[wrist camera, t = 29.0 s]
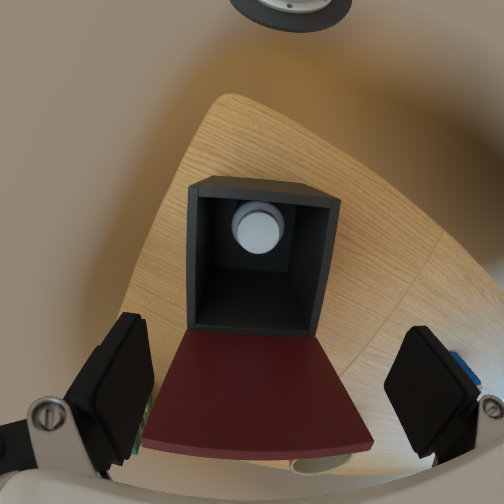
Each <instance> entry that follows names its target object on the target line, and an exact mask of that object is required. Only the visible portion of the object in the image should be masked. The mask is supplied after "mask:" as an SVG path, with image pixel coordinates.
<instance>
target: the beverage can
mask: <svg viewBox="0 0 504 504" xmlns="http://www.w3.org/2000/svg"><path fill="white" fill-rule="evenodd" d="M450 354H451V355H452V356H453V357H454V358H455V360H456V361H457V362H458V363H459V365H460V366H461V367H462V368H463V369H464V371H465V372H466V373H467V374H468V376H469V377H470V378H471V380H472V381H473V382H474V383H475V385H476V386H477V387H478V389H479V390H480V391H481V390H482V385H481V381H480V380H479V378H478V377H477V376H476V375H475V374H474V372H473V371H472V370H471V369H470V368H469V367H468V365H467V364H466V363H465V362H464V361H463V360H462V358H461V357H460V356H459V355H458V354H457V353H456V352H451V353H450Z"/></svg>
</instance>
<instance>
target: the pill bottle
mask: <svg viewBox="0 0 504 504" xmlns="http://www.w3.org/2000/svg"><path fill="white" fill-rule="evenodd" d="M232 232H233V235H234V238H235V239H236V241H237V242H238V243H239V244H240V245H241V246H242V247H243V248H244V249H246V250H247V251H249V252H251V253H255V254H262V253H266V252H268V251H270V250H271V249H273V248H274V247H275V245H276V244H277V243H278V242H279V241H280V239H281V237H282V235H283V232H284V220H283V217H282V214H281V212H280V210H279V209H278V207H277V205H276V204H275V202H264V201H252V200H240V201H239V202H238V204H237V206H236V208H235V211H234V215H233V219H232Z"/></svg>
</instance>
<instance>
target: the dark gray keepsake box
mask: <svg viewBox="0 0 504 504" xmlns="http://www.w3.org/2000/svg"><path fill="white" fill-rule="evenodd" d="M240 200H252V201H264V202H275V204H276V205H277V207H278V209H279V210H280V212H281V214H282V217H283V220H284V232H283V235H282V237H281V239H280V241H279V242H278V243H277V244H276V245H275V247H274V248H273V249H271V250H270V251H268V252H266V253H262V254H255V253H251V252H249V251H247V250H246V249H244V248H243V247H242V246H241V245H240V244H239V243H238V242H237V241H236V239H235V238H234V235H233V232H232V219H233V215H234V211H235V208H236V206H237V204H238V202H239V201H240ZM340 203H341V200H340V199H338V198H336V197H334V196H331V195H329V194H327V193H324V192H322V191H320V190H317V189H315V188H312V187H310V186H308V185H305V184H302V183H293V182H284V181H274V180H264V179H252V178H240V177H226V176H211V177H208V178H206V179H204V180H201V181H199V182H197V183H194V184H192V185H190V186H189V188H188V210H187V246H186V300H187V330H193V331H203V332H214V333H226V334H239V335H255V336H276V337H315V334H316V330H317V326H318V322H319V317H320V313H321V308H322V304H323V299H324V294H325V290H326V285H327V280H328V275H329V269H330V264H331V259H332V253H333V248H334V242H335V236H336V230H337V223H338V217H339V210H340Z"/></svg>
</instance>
